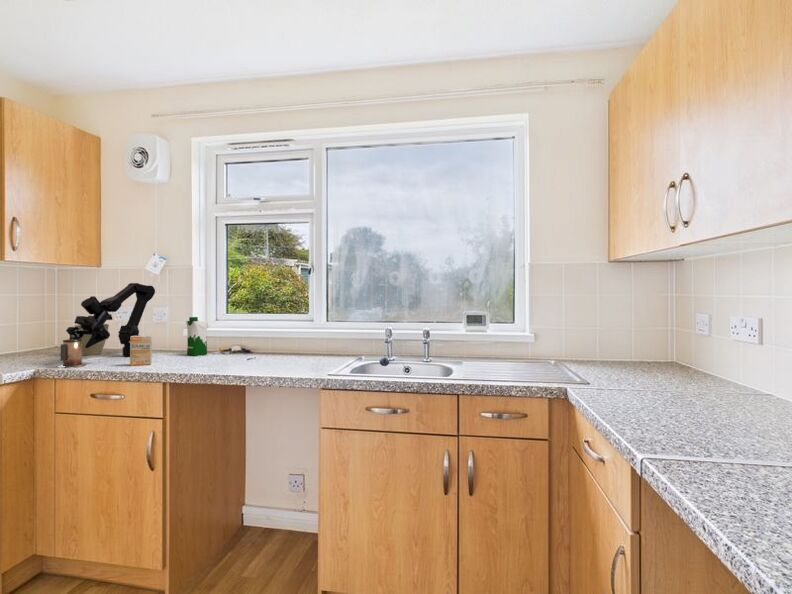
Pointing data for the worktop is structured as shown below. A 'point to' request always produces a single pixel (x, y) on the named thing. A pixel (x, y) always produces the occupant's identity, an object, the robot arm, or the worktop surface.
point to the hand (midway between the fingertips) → (77, 347)
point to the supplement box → (140, 350)
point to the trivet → (77, 365)
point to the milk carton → (196, 337)
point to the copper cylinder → (71, 351)
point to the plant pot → (95, 348)
